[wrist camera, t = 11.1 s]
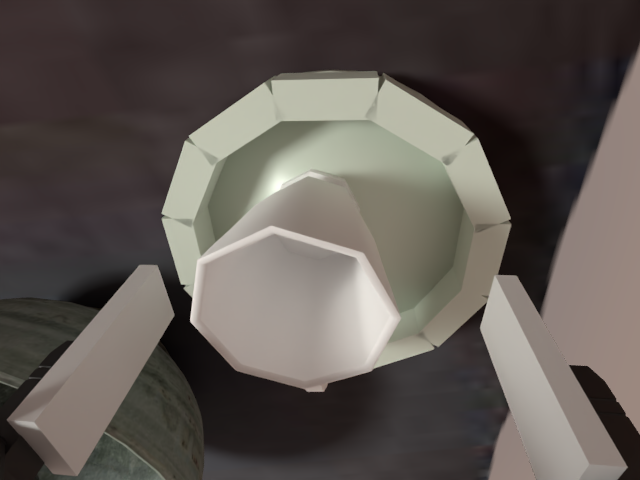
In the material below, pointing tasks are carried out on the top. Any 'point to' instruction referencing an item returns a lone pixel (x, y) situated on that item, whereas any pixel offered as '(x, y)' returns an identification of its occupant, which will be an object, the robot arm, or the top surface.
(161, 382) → the bowl
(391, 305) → the cup
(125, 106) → the top surface
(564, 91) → the top surface
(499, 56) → the top surface
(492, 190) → the tray
